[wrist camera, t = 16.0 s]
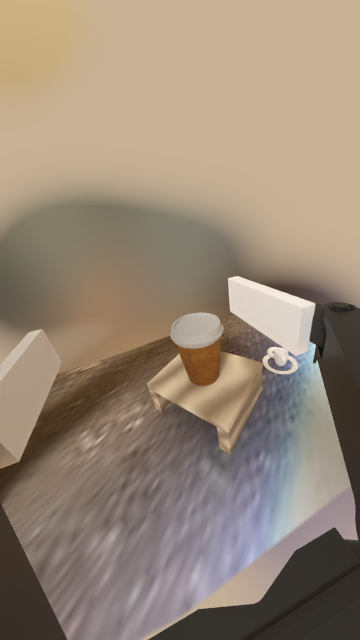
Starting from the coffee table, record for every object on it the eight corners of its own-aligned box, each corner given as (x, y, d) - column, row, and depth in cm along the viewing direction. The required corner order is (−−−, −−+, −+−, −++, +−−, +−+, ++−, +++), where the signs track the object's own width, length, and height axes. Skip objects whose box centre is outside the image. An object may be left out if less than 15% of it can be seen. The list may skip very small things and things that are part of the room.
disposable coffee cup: (204, 353, 45) (197, 307, 40) (237, 373, 38) (234, 320, 32) (171, 375, 41) (158, 326, 35) (202, 402, 33) (191, 346, 28)
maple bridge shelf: (155, 407, 43) (147, 383, 40) (195, 364, 53) (191, 342, 50) (230, 455, 32) (227, 427, 29) (262, 389, 42) (262, 362, 39)
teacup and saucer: (266, 350, 54) (266, 338, 52) (299, 356, 50) (300, 343, 48) (259, 370, 48) (259, 358, 46) (296, 379, 44) (298, 365, 42)
